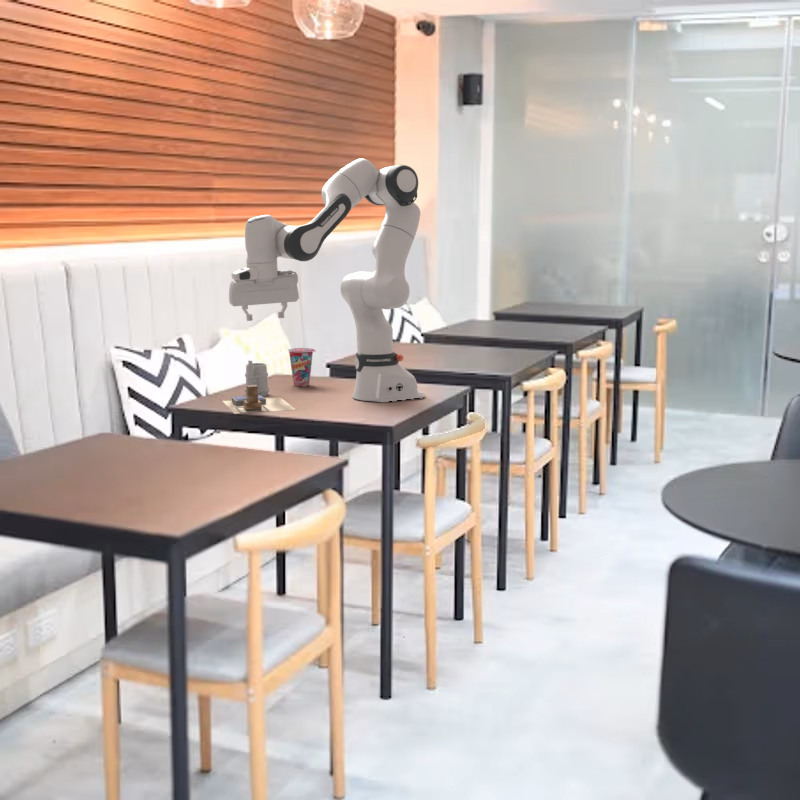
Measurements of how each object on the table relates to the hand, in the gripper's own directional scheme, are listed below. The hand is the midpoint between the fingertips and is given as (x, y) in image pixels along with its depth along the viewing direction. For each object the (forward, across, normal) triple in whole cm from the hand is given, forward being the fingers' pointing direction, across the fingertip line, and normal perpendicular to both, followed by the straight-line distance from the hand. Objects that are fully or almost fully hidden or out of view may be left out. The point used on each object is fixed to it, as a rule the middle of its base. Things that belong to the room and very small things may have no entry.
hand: (265, 319), depth 325 cm
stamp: (+25, +7, +6) cm, 27 cm away
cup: (+28, -18, -35) cm, 49 cm away
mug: (+27, +1, -21) cm, 34 cm away
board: (+26, +4, 0) cm, 27 cm away
